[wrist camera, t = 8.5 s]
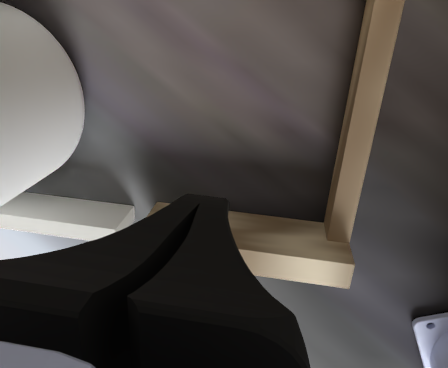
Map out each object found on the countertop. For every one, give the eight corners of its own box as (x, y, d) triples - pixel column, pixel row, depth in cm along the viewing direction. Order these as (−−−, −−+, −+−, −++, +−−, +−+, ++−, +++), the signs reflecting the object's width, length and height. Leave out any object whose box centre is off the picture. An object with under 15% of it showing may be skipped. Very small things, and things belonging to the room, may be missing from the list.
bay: (401, -35, 17) (431, -49, 14) (339, 246, 23) (349, 288, 20) (153, -47, 18) (121, -63, 15) (157, 222, 25) (135, 257, 21)
